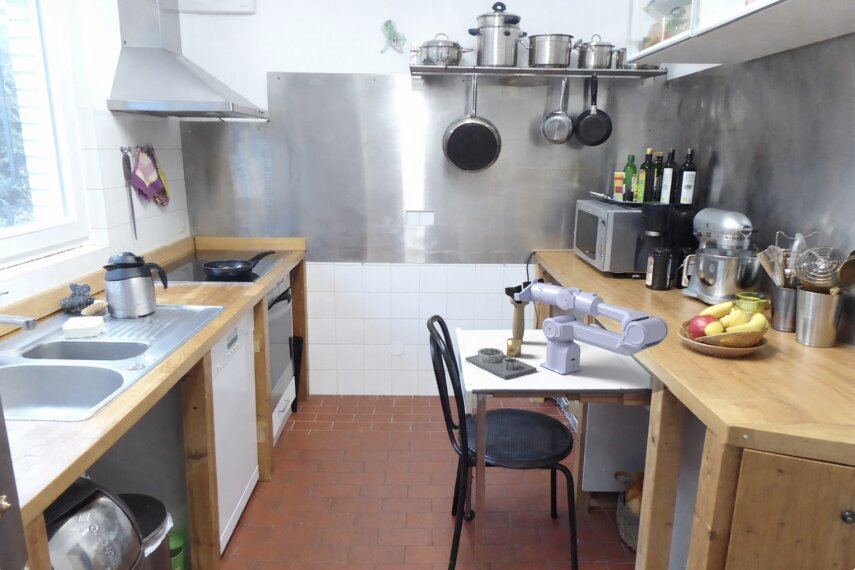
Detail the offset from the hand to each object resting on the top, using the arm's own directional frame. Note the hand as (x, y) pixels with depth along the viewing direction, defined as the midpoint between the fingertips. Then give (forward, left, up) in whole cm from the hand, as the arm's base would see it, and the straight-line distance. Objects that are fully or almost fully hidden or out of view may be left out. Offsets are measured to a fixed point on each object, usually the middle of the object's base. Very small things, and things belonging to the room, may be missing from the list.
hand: (514, 288), depth 179 cm
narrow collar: (-14, +14, -20) cm, 28 cm away
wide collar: (-5, +14, -20) cm, 25 cm away
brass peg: (-5, +4, -20) cm, 21 cm away
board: (-10, +14, -20) cm, 26 cm away
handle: (+4, -6, -21) cm, 22 cm away
